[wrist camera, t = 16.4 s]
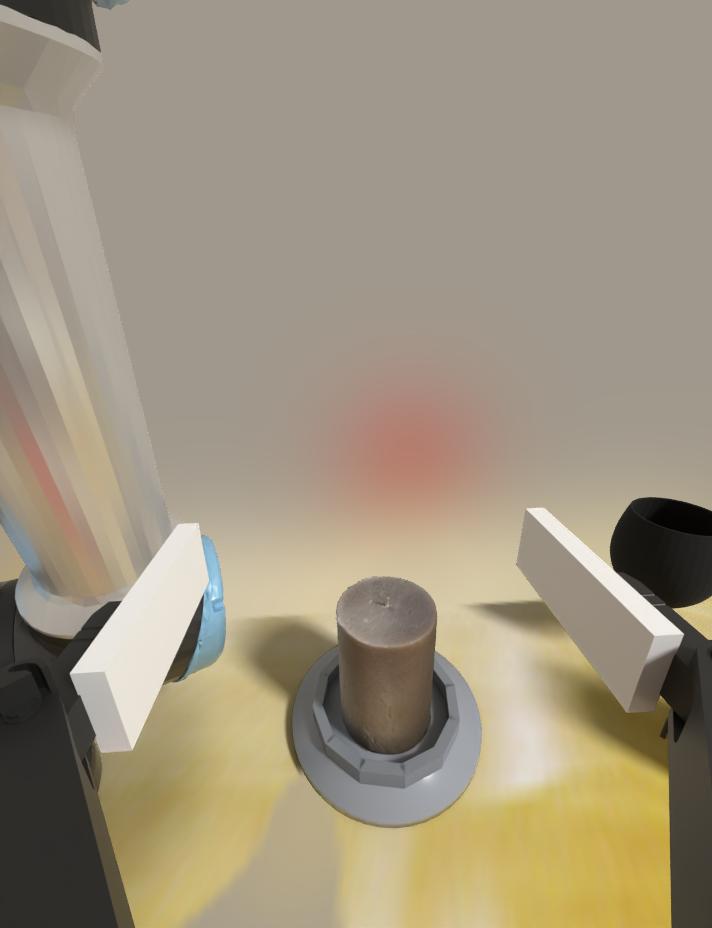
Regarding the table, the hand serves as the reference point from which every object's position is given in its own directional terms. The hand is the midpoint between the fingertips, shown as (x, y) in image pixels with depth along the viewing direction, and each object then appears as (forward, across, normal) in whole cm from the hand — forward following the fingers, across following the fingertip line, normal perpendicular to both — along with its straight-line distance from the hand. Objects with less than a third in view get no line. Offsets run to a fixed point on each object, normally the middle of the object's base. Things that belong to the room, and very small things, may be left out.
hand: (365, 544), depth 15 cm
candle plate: (+15, +3, -32) cm, 36 cm away
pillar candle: (+15, +3, -31) cm, 35 cm away
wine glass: (+21, +36, -32) cm, 52 cm away
